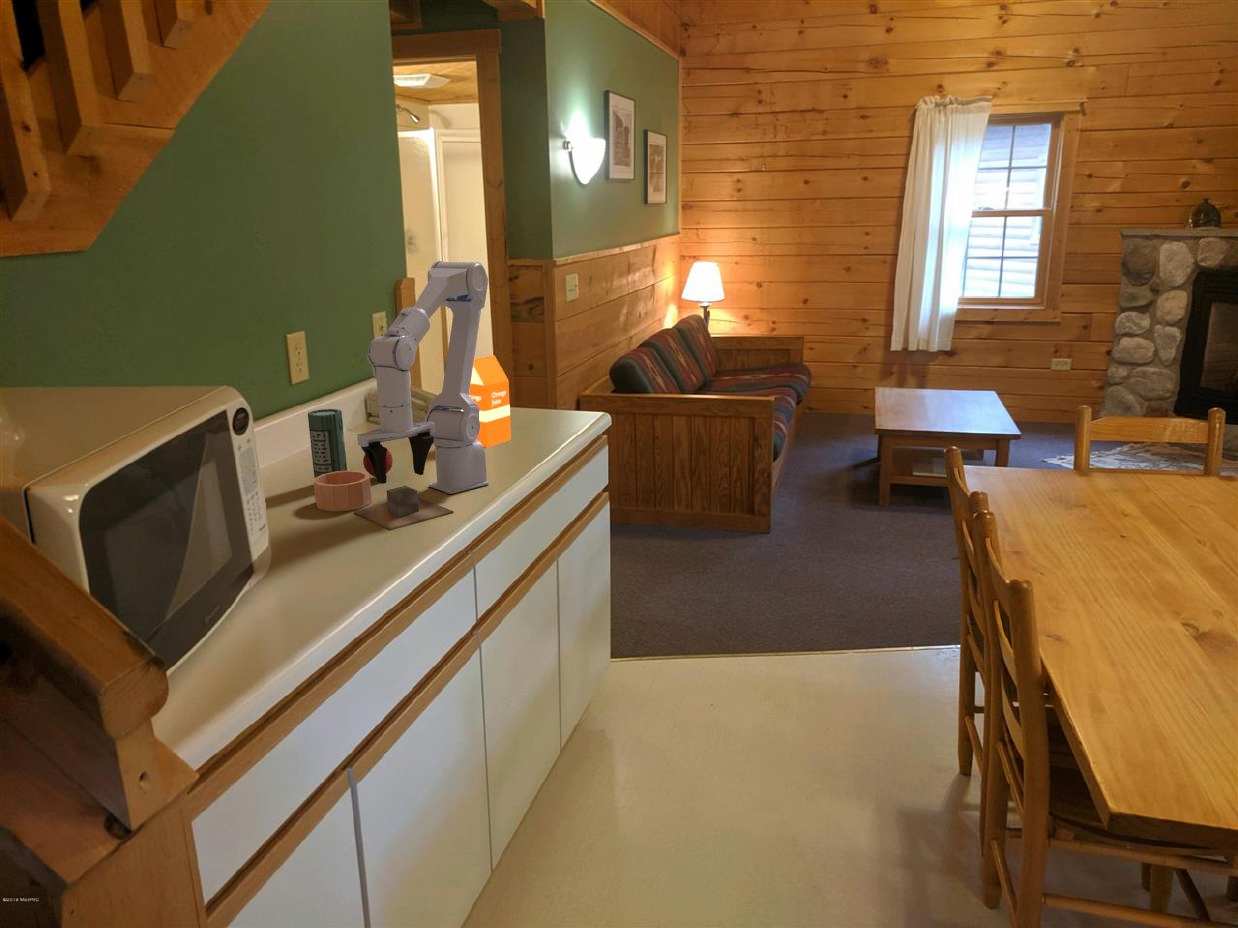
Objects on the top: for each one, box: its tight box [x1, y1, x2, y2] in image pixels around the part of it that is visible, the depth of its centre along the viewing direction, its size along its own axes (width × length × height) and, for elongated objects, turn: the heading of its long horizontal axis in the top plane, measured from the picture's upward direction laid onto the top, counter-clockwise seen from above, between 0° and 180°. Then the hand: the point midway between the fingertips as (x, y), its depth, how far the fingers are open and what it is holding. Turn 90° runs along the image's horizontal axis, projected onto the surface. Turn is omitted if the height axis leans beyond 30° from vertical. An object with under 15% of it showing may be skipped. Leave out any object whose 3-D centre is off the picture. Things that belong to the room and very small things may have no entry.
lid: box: [353, 485, 454, 531], centre depth 168 cm, size 13×13×5 cm
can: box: [307, 408, 348, 480], centre depth 184 cm, size 6×6×15 cm
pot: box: [313, 469, 373, 513], centre depth 174 cm, size 10×10×5 cm
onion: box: [362, 445, 394, 478], centre depth 189 cm, size 6×6×8 cm
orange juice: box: [460, 355, 512, 448], centre depth 216 cm, size 8×9×20 cm
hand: (400, 478), depth 167 cm, fingers open, 7 cm apart
